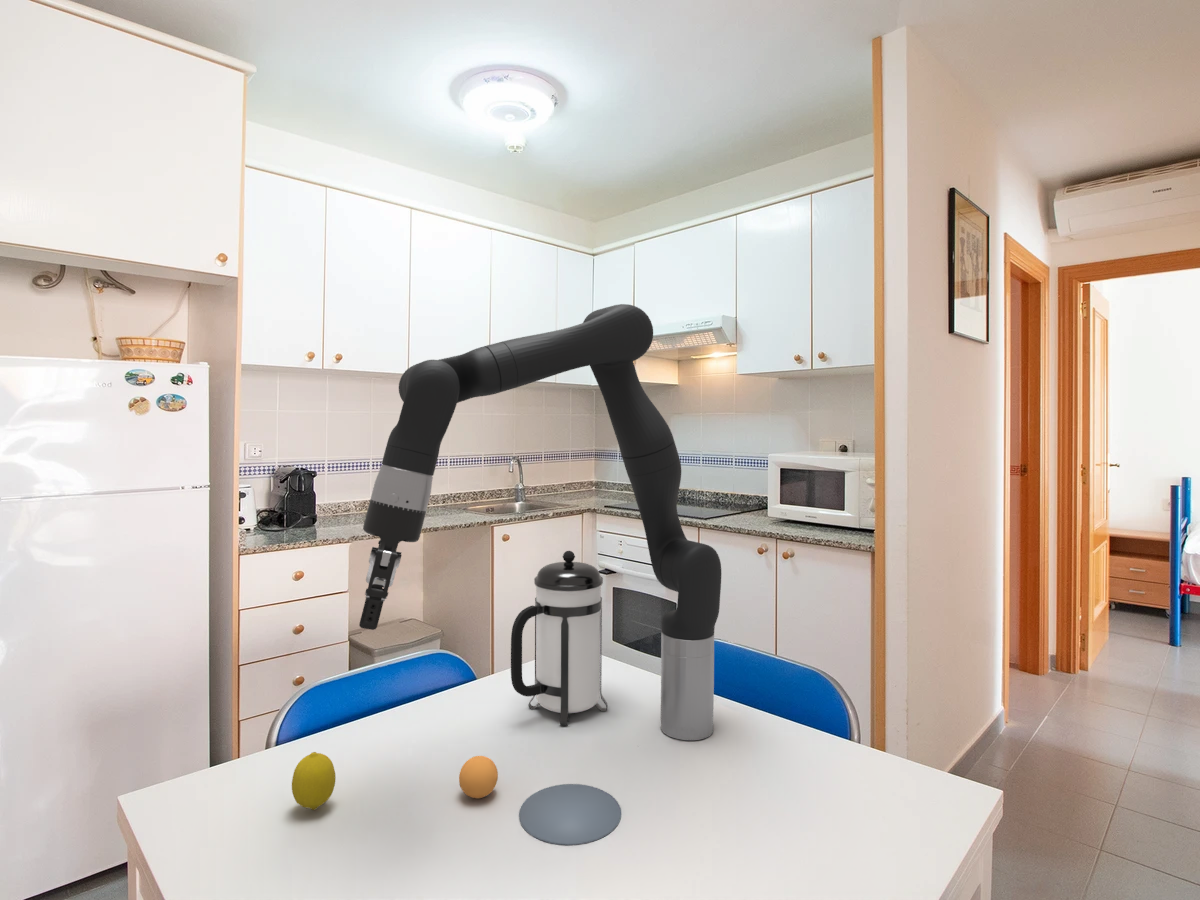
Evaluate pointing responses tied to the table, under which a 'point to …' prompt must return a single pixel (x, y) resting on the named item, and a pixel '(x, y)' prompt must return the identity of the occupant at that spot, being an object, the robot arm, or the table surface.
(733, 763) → the table surface
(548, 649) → the coffee press
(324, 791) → the lemon
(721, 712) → the table surface
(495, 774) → the ball
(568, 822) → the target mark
